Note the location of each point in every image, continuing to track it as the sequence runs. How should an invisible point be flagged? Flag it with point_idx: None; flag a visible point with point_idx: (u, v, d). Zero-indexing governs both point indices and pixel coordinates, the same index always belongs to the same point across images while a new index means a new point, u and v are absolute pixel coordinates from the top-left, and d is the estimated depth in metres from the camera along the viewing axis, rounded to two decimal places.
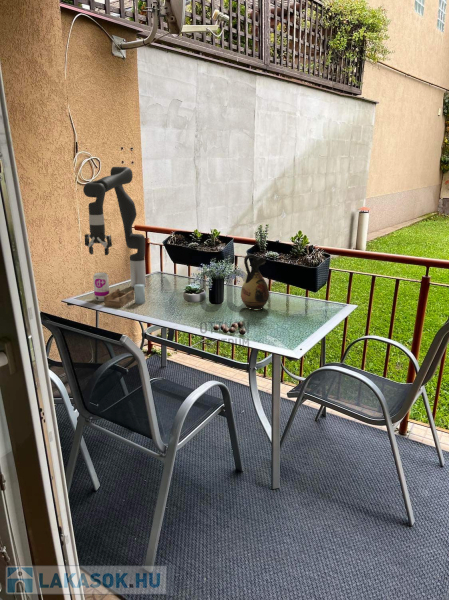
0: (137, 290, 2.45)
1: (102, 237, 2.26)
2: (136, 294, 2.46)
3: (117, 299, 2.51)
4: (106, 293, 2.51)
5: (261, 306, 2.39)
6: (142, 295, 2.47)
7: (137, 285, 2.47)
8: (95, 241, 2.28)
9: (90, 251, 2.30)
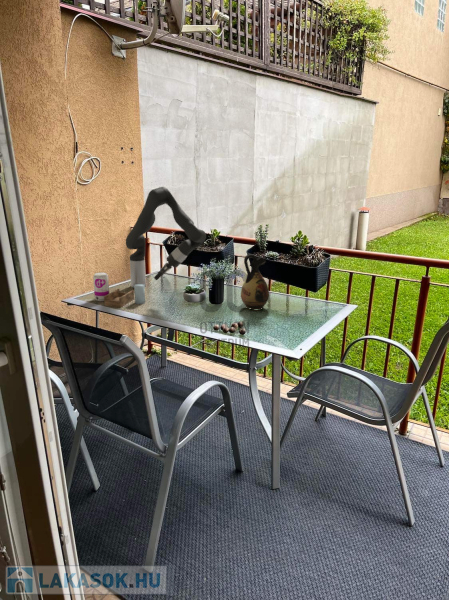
0: (137, 290, 2.45)
1: None
2: (136, 294, 2.46)
3: (117, 299, 2.51)
4: (106, 293, 2.51)
5: (261, 306, 2.39)
6: (142, 295, 2.47)
7: (137, 285, 2.47)
8: None
9: (158, 278, 2.39)
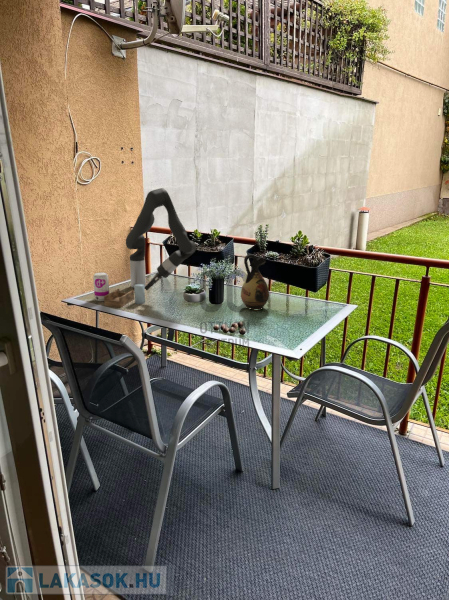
0: (137, 290, 2.45)
1: None
2: (136, 294, 2.46)
3: (117, 299, 2.51)
4: (106, 293, 2.51)
5: (261, 306, 2.39)
6: (142, 295, 2.47)
7: (137, 285, 2.47)
8: None
9: None
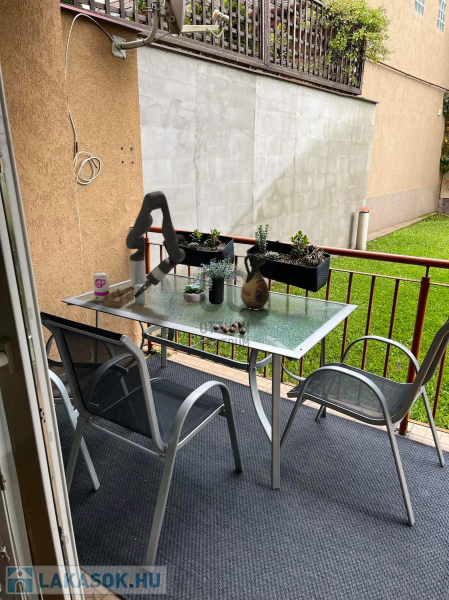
0: (137, 290, 2.45)
1: None
2: None
3: (117, 299, 2.51)
4: (106, 293, 2.51)
5: (261, 306, 2.39)
6: (142, 295, 2.47)
7: (137, 285, 2.47)
8: None
9: None
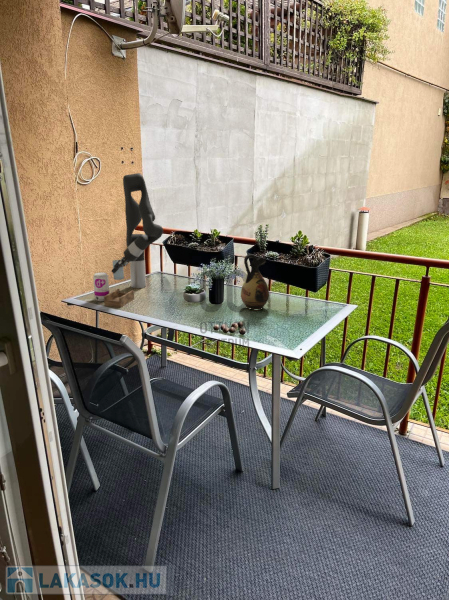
0: None
1: None
2: None
3: (117, 299, 2.51)
4: (106, 293, 2.51)
5: (261, 306, 2.39)
6: (120, 271, 2.42)
7: (115, 260, 2.42)
8: None
9: (115, 271, 2.41)
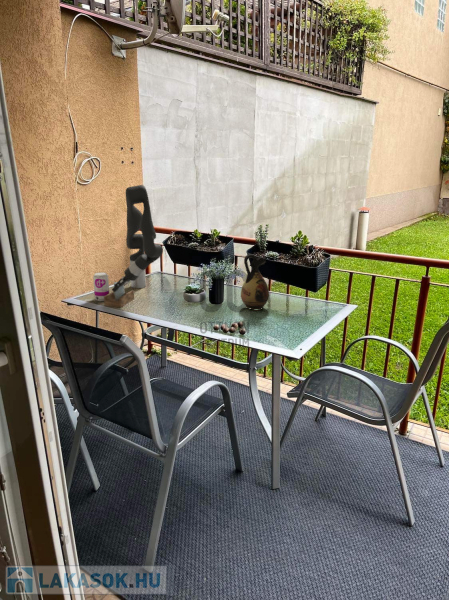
0: None
1: None
2: None
3: None
4: (106, 293, 2.51)
5: (261, 306, 2.39)
6: (121, 293, 2.46)
7: None
8: None
9: (116, 290, 2.43)
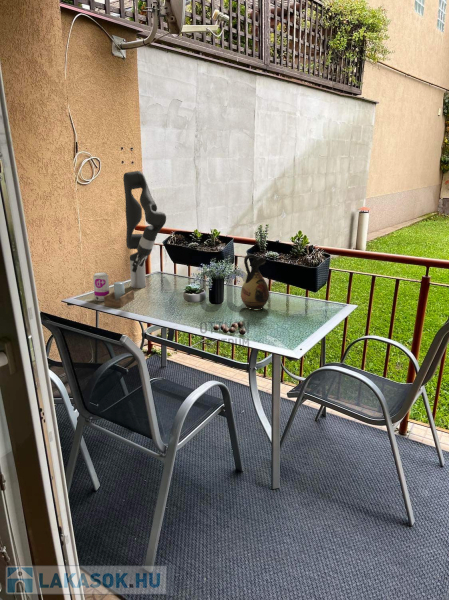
0: (116, 288, 2.44)
1: None
2: (115, 292, 2.46)
3: None
4: (106, 293, 2.51)
5: (261, 306, 2.39)
6: (121, 293, 2.46)
7: (117, 283, 2.46)
8: None
9: (136, 270, 2.40)
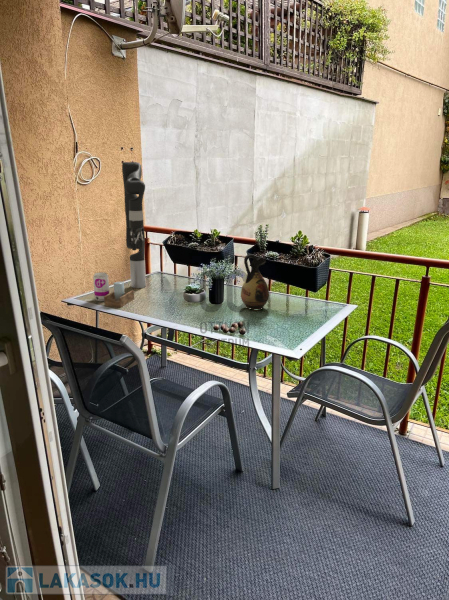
0: (115, 288, 2.44)
1: None
2: (115, 292, 2.46)
3: None
4: (106, 293, 2.51)
5: (261, 306, 2.39)
6: (121, 293, 2.46)
7: (116, 283, 2.46)
8: None
9: (135, 247, 2.38)
